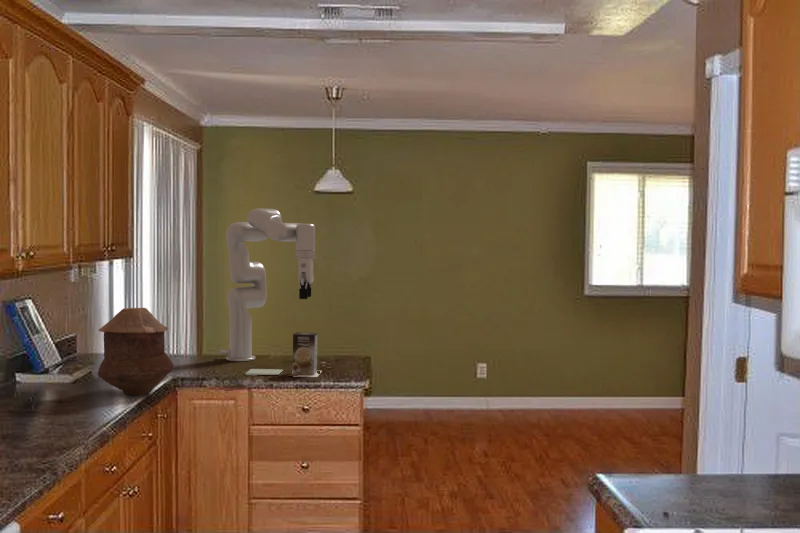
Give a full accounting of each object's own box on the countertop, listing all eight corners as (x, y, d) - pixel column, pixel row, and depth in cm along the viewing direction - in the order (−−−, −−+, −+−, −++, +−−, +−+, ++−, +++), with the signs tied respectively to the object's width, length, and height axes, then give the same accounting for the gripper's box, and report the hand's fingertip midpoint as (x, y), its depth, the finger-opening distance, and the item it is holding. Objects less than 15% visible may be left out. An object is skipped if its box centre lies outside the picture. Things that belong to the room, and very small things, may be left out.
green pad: (245, 375, 344) (245, 373, 344) (250, 370, 354) (250, 368, 354) (278, 375, 343) (278, 373, 343) (282, 371, 353) (282, 369, 353)
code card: (286, 376, 342) (286, 376, 342) (292, 370, 356) (292, 370, 356) (317, 377, 342) (317, 376, 342) (322, 371, 356) (322, 370, 356)
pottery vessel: (134, 403, 290) (133, 313, 288) (80, 395, 302) (80, 308, 301) (188, 390, 312) (188, 306, 311) (136, 383, 325) (136, 302, 323)
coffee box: (291, 374, 346) (291, 334, 345) (295, 371, 353) (295, 331, 352) (314, 375, 345) (314, 334, 345) (317, 372, 352) (317, 332, 351)
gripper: (311, 255, 338) (311, 300, 339) (317, 254, 355) (317, 296, 356) (292, 255, 338) (292, 299, 339) (299, 253, 355) (299, 296, 356)
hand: (305, 297), depth 347 cm, fingers open, 9 cm apart
